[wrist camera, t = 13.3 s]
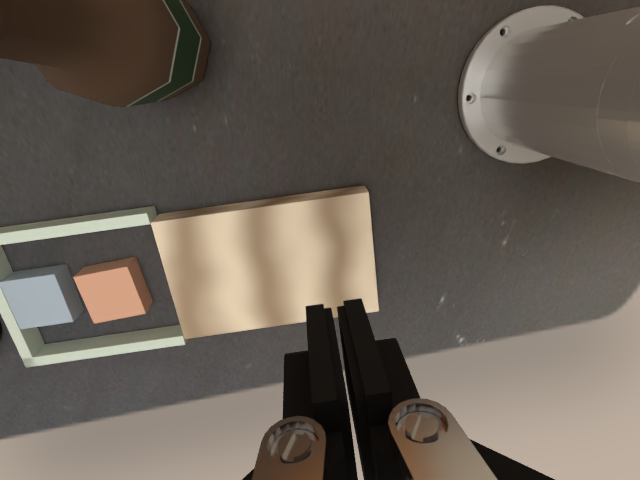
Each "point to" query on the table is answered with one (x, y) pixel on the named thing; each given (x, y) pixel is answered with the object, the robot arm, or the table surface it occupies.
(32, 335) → the u-shaped frame
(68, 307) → the slate tile
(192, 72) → the beer bottle
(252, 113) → the table surface
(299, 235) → the wooden cutting board
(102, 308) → the terracotta tile
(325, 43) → the table surface
